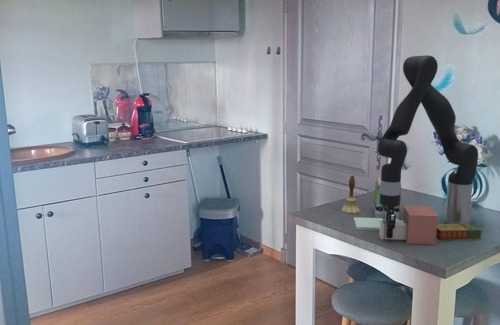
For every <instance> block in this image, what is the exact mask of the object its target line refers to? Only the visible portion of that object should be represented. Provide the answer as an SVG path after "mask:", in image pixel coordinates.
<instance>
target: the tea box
mask: <svg viewBox="0 0 500 325" xmlns="http://www.w3.org/2000/svg"><path fill="white" fill-rule="evenodd" d="M380 183H381V176H380V177H377V176H376V179H375V187H374V188H375V189H374V190H375V191H374V201H373V202H374V205H373V207H374V208H373V209H374V218H383V205H381V204H380V203H379V200H380ZM400 207H401V204H400V205H399V206H395V207H394V210H396V214H395V215H396V219H398V220H400V219H399V218H400Z"/></svg>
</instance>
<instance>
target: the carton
mask: <svg viewBox="0 0 500 325" xmlns="http://www.w3.org/2000/svg"><path fill="white" fill-rule="evenodd" d="M481 238H482V230H481V229H480V228H479V227H477V226H475V225H473V223H461V224H448V223H437V231H436V239H437V240H438V241H467V240H469V241H470V240H471V241H473V240H481Z"/></svg>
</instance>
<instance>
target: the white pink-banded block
mask: <svg viewBox="0 0 500 325" xmlns="http://www.w3.org/2000/svg"><path fill="white" fill-rule="evenodd" d="M390 225H392V224H390ZM386 226H387V223H386V222H385V220H380V227H379V231H378V235H379V238H380V240H397V241H398V240H403V241H406V231H407V222H406V221H405V220H402V219H401V220H400V219H398V220H396V221H395V229H393V237H392V238H387V237H386V232H387V228H386Z"/></svg>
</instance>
